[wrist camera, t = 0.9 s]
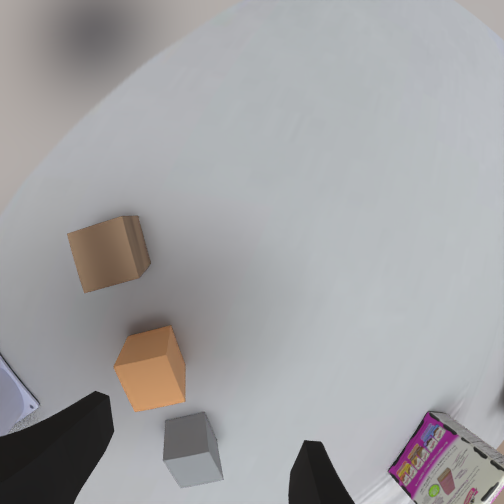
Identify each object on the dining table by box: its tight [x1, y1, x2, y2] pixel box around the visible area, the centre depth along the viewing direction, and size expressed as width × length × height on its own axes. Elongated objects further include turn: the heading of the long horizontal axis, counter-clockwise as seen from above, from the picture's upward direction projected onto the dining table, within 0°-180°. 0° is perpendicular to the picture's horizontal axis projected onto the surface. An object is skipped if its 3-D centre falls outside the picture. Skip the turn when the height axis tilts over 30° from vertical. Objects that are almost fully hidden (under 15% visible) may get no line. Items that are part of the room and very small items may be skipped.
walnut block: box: [67, 216, 151, 293], centre depth 21 cm, size 4×4×6 cm
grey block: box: [163, 412, 224, 488], centre depth 24 cm, size 4×4×6 cm
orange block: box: [114, 325, 185, 412], centre depth 23 cm, size 4×4×6 cm
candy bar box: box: [388, 412, 504, 504], centre depth 26 cm, size 11×5×16 cm, turn 157°
